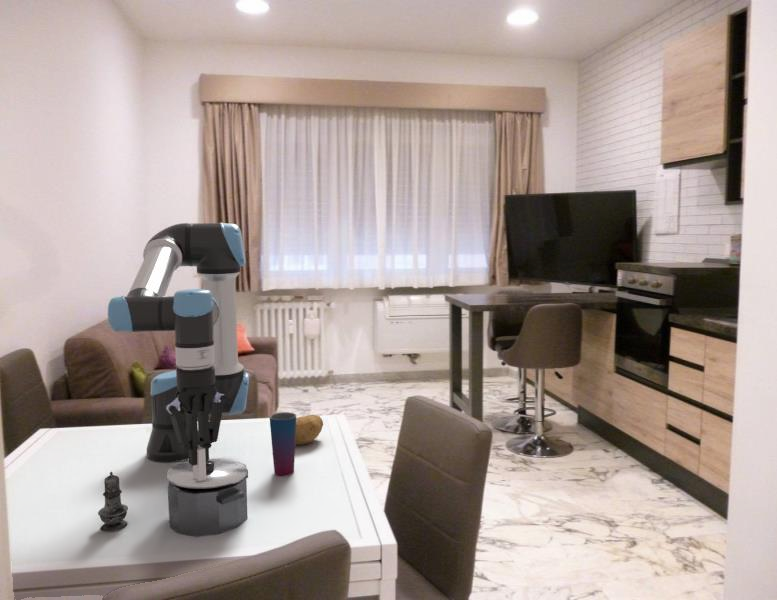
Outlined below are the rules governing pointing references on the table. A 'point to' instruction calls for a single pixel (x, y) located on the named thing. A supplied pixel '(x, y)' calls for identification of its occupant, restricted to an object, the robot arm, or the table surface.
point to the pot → (207, 508)
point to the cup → (283, 442)
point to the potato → (307, 428)
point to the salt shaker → (113, 506)
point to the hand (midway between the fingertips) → (199, 478)
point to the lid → (208, 474)
